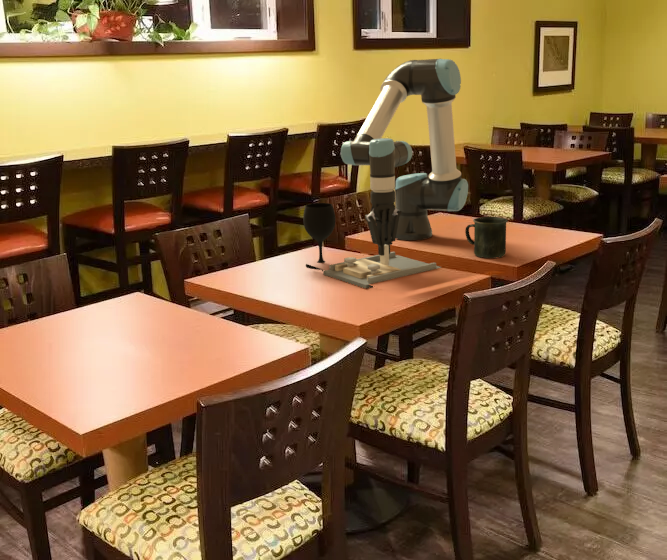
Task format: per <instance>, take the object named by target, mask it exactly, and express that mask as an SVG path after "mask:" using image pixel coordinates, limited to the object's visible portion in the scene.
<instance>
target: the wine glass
mask: <svg viewBox="0 0 667 560" xmlns="http://www.w3.org/2000/svg"><path fill="white" fill-rule="evenodd" d="M302 219H303V227H304V229H305V231H306V233H307V235H309V236H310V237H311V238H312V239H313V240H315V241H316V242H317V244H318V252H319V253H318V255H319V256H318V257H319V258H318V261H316V263H318V264H325V263H326V261H325V260H324V257H323V243H324V241H325V240H327V238H329V236H331V234H332V233H333V231H334V229H335V226H336V213H335V209H334V206H333V204H332V203H329V202H317V203H316V202H314V203H308V204H306V205H305V206H304V209H303V217H302ZM305 268H307V269H311V270H321V268H320V267H318V266H313V265H311V264H309V263H306V264H305Z"/></svg>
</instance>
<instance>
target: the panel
mask: <svg viewBox="0 0 667 560" xmlns="http://www.w3.org/2000/svg"><path fill="white" fill-rule="evenodd" d="M371 264H378V265H380V269H378V270H377V273H375V274H371V270H369V269H368V265H371ZM335 270H336V271H341V270H343V273H345V274H348V275H351V276H354V277H357V278H360V279H362V278H366V277H367V281H368V277H372V276H377V275H381V274H386V273H390V272H394V271H399V270H401V269H398V268H395V267H391V266H388V265H384V264H381V263H378V262H374V261H371V260H367V259H362V260H358V261H356V262H354V266H350V267H347V263H343V264H339V265H335Z"/></svg>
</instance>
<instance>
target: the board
mask: <svg viewBox="0 0 667 560" xmlns="http://www.w3.org/2000/svg"><path fill="white" fill-rule="evenodd" d="M362 259H367V260H371V261H374V262H378V263H380V255H379V254H376V255H371V256H367V257H362V258H356V257H354V256H353V257H352V256H351V257H350V256H349V257H345V258H344V259H343V261H342V262H337V263H333V264H329V265H328V267H329V269H326V270H322V273H323V275H324V276H326V277H328V278H329V277H330V278H332V277H333V279H335V278H336V279H335V280H338V279H339V280H338V281H341V280H342V281H341V282H344V281H345V282H344V283H347V282H348V283H347V284H350V283H351V284H350V285H353V284H354V286H356V285H357V286H356V287H359V286H360V287H359V288H362V287H363V288H362V289H364V288H368V289H370V288H369V287H372V288H374V287H373V286H374V285H373V284H378V283H381V282H385V281H390V280H393V279H398V278H402V277H407V276H412V275H415V274H420V273H423V272H427V271H432V270H437V269H441V268H442V266H439V265H437V262H429V263H428V262H424V261H421V260H417V259H413V258H409V257H405V256H402V255H399V254H396V251H390V254H389V265H388V266H391V267H395V268H398V269H401V270H399V271H394V272H390V273H386V274H381V275H377V276H372V277H368V281H367V277H366V278H362V279H360V278H357V277H354V276H351V275H348V274H345V273H343V270H341V271H336V270H335V265H339V264H343V263H347V267H350V266H354V262H356V261H358V260H362ZM368 269H369V270H371V274H375V273H377V270H378V269H380V265H378V264H371V265H368Z"/></svg>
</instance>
